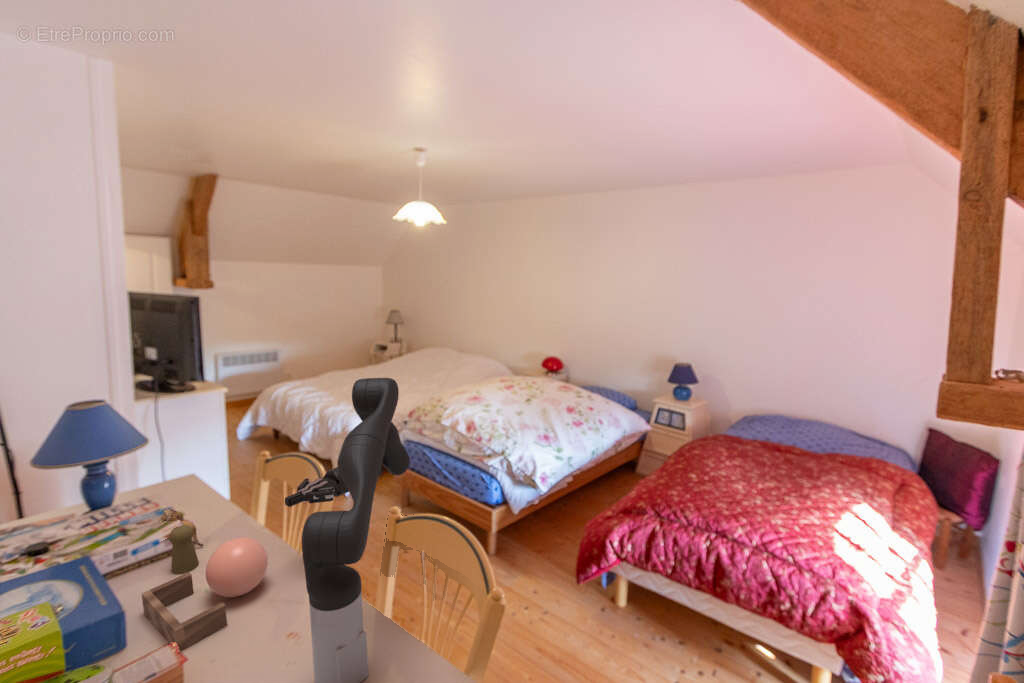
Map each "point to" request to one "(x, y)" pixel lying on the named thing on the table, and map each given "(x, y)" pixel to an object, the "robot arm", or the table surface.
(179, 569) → the cork
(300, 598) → the table surface
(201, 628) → the stall
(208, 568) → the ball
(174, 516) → the lion figurine
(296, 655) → the table surface
